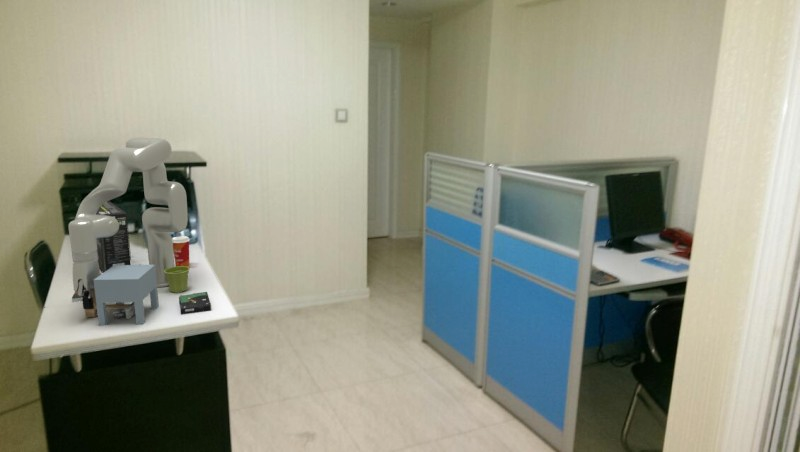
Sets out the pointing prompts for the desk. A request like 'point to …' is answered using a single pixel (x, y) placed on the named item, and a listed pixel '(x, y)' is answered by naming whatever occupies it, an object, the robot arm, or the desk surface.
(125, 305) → the wooden mallet
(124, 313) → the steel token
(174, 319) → the desk surface
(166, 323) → the desk surface
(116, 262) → the router box
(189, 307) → the disk drive
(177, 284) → the plant pot
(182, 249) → the paper cup
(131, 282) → the blue-grey small table
